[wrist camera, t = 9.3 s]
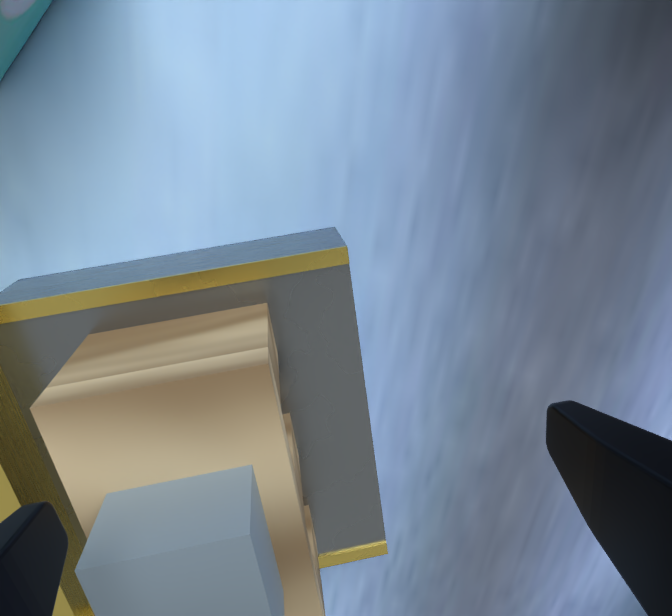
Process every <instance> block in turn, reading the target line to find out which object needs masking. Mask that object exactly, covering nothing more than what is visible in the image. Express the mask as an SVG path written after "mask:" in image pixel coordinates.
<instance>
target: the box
mask: <svg viewBox="0 0 672 616" xmlns="http://www.w3.org/2000/svg"><path fill="white" fill-rule="evenodd" d="M52 1H53V0H0V81H1V79H2V78H3V76H4V74H5V73H6V71H7V69H8V68H9V66H10V65H11V64H12V62H13V61H14V59H15V58H16V56H17V55H18V53H19V52H20V50H21V49H22V47H23V46H24V44H25V42H26V41H27V39H28V38H29V36H30V35H31V33H32V32H33V30H34V28H35V27H36V25H37V24H38V22H39V21H40V19H41V18H42V16H43V14H44V13H45V11H46V10H47V8H48V7H49V5H50V4H51V2H52Z"/></svg>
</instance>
